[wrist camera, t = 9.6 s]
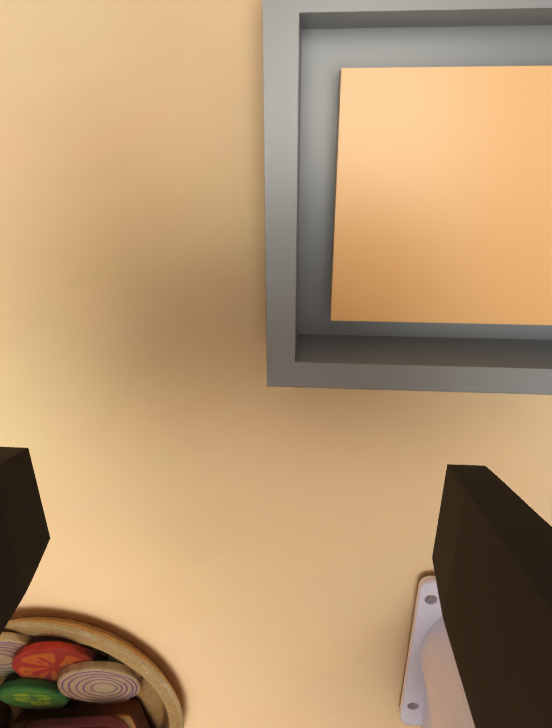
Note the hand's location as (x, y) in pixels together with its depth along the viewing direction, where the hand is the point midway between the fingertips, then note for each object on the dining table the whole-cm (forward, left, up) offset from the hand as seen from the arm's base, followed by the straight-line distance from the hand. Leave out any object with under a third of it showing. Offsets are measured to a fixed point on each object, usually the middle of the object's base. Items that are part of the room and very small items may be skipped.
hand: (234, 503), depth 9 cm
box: (+4, -5, -9) cm, 11 cm away
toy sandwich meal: (-21, +10, -10) cm, 26 cm away
